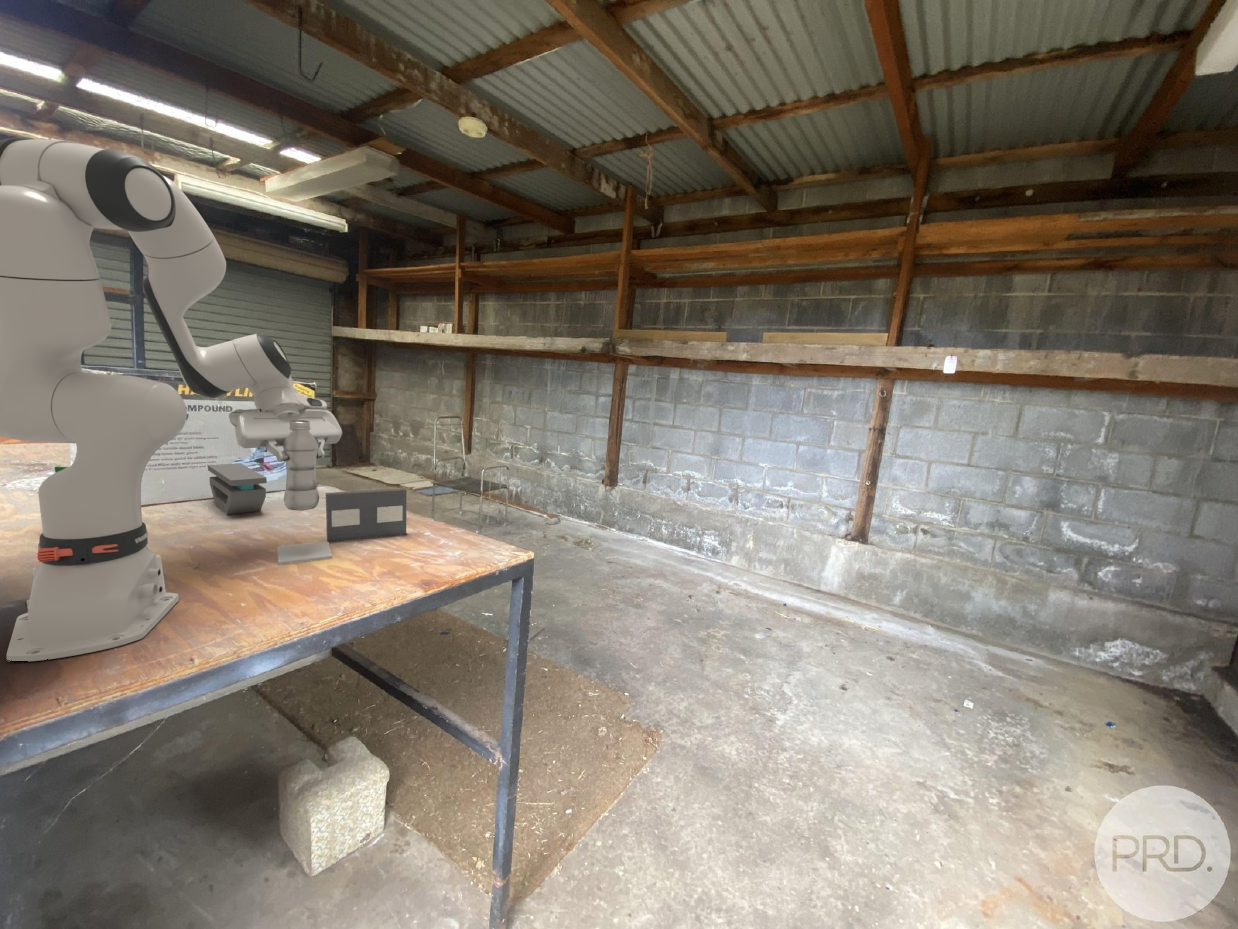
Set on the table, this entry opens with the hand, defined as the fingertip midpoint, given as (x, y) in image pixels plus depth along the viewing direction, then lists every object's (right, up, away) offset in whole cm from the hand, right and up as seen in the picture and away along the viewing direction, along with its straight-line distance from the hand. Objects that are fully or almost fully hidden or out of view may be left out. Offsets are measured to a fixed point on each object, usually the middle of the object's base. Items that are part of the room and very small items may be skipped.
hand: (302, 458), depth 110 cm
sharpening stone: (-40, -14, +34) cm, 54 cm away
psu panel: (+6, -20, +17) cm, 27 cm away
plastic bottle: (-2, -12, +2) cm, 12 cm away
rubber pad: (-2, -22, +4) cm, 22 cm away
